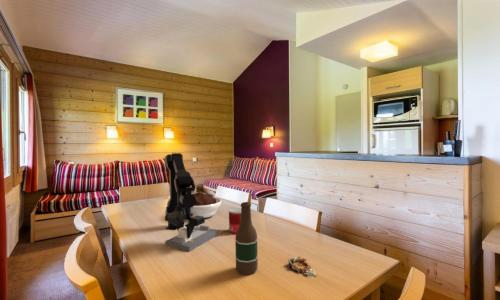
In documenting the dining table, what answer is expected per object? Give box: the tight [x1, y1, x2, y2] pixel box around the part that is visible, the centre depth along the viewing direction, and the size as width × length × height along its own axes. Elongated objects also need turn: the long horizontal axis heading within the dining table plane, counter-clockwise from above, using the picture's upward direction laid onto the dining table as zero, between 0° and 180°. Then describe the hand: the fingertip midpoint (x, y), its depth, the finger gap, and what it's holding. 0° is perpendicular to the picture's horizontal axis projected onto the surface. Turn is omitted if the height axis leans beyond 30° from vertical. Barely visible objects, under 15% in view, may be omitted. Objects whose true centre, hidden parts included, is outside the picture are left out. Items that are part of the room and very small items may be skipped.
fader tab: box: [177, 226, 191, 242], centre depth 114 cm, size 4×4×5 cm
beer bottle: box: [234, 201, 259, 276], centre depth 89 cm, size 8×8×24 cm
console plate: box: [164, 224, 220, 252], centre depth 119 cm, size 14×22×4 cm, turn 152°
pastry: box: [283, 256, 317, 278], centre depth 90 cm, size 7×12×4 cm, turn 43°
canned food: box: [228, 208, 241, 235], centre depth 129 cm, size 8×8×11 cm
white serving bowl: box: [191, 191, 222, 218], centre depth 157 cm, size 25×25×15 cm
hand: (184, 237), depth 114 cm, fingers closed on fader tab, 4 cm apart
